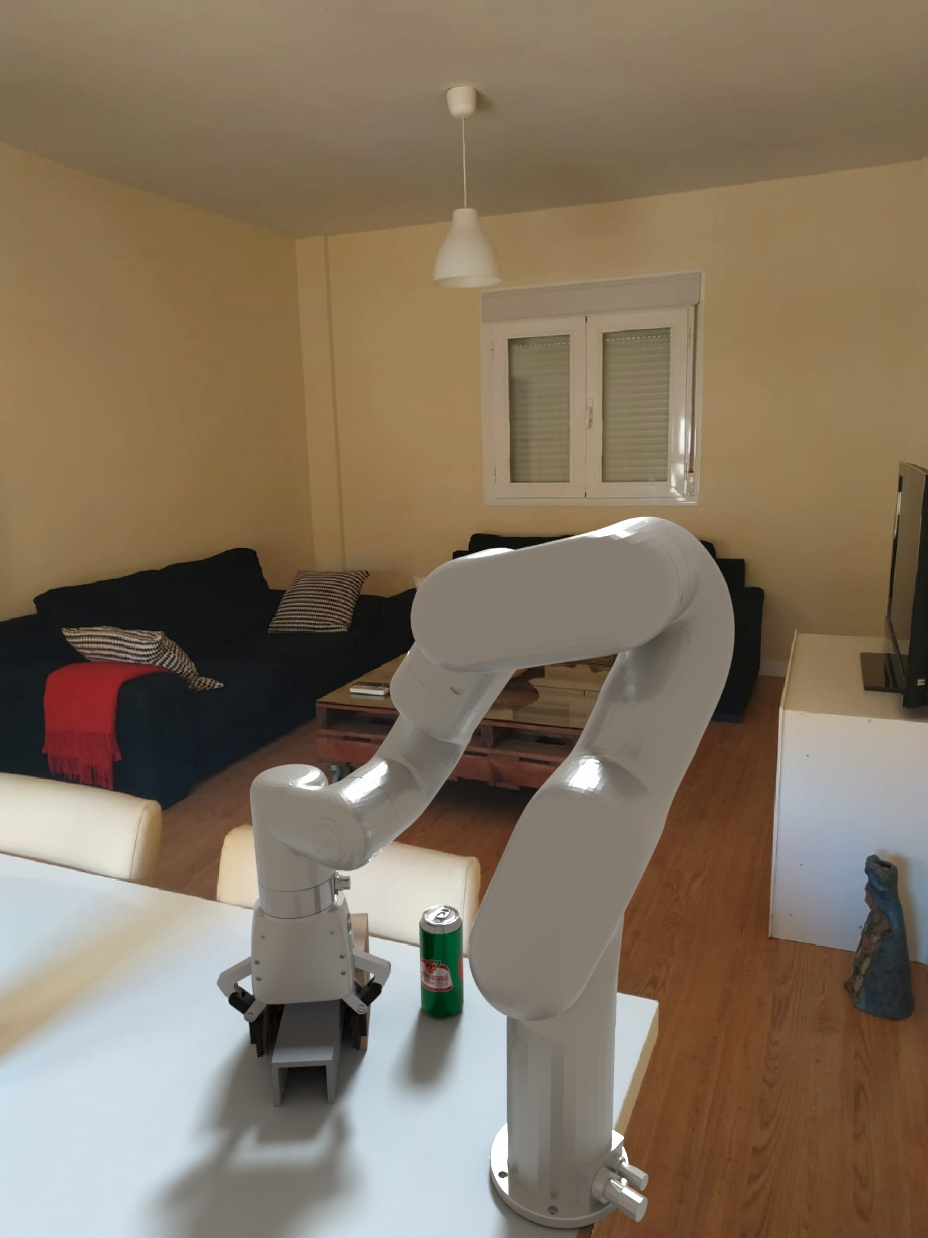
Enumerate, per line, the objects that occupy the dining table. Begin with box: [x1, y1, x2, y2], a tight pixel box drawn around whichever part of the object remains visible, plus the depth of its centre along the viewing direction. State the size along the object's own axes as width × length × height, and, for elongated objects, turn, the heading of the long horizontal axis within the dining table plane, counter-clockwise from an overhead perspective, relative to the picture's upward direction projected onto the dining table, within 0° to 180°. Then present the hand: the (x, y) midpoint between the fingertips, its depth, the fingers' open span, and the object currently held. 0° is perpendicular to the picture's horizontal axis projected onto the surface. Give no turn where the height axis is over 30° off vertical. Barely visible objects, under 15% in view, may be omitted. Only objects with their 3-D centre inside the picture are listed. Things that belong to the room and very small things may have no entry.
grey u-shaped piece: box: [271, 999, 346, 1107], centre depth 93 cm, size 14×6×5 cm, turn 3°
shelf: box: [265, 912, 372, 1055], centre depth 97 cm, size 8×12×12 cm
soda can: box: [418, 904, 465, 1019], centre depth 100 cm, size 5×5×12 cm
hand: (310, 1044), depth 88 cm, fingers open, 9 cm apart
